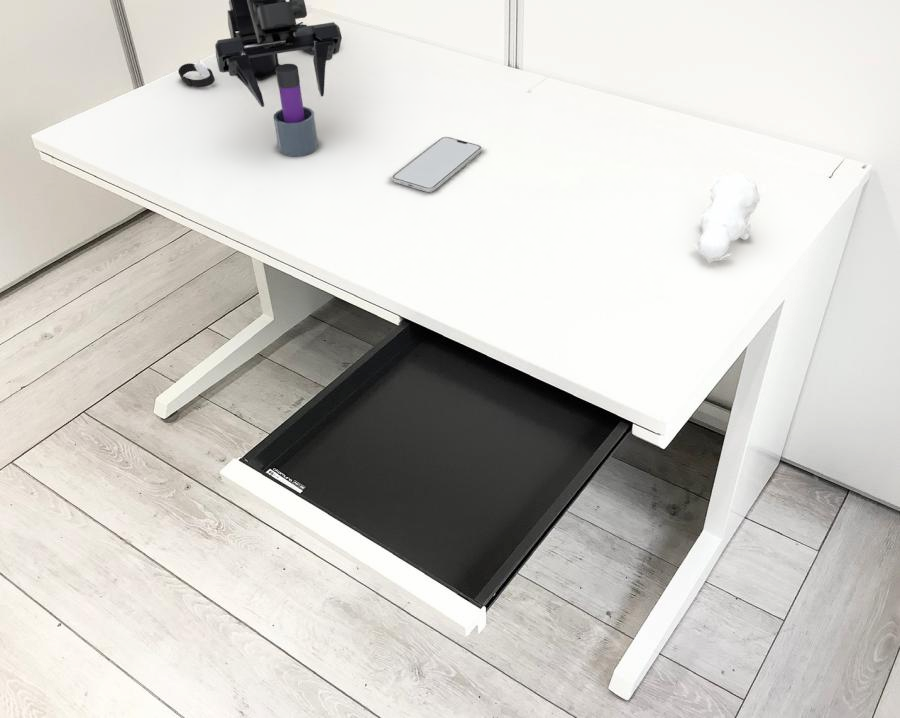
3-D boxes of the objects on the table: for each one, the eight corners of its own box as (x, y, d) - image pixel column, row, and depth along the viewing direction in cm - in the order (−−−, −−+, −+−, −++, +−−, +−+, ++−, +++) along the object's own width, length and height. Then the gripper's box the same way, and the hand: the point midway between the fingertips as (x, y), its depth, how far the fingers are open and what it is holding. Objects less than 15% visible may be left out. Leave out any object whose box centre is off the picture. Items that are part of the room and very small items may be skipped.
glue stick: (293, 138, 143) (282, 62, 134) (312, 141, 142) (301, 64, 134) (284, 147, 140) (271, 71, 132) (302, 150, 139) (291, 73, 131)
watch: (222, 82, 161) (218, 63, 159) (202, 92, 158) (198, 72, 156) (193, 73, 164) (189, 54, 162) (173, 82, 162) (169, 62, 159)
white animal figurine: (767, 172, 114) (741, 225, 107) (756, 225, 120) (730, 279, 113) (718, 161, 116) (689, 212, 109) (709, 214, 122) (681, 266, 115)
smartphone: (389, 177, 132) (443, 135, 141) (389, 181, 132) (443, 139, 142) (431, 190, 129) (483, 146, 138) (431, 194, 129) (484, 150, 139)
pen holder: (298, 134, 145) (294, 102, 141) (326, 144, 142) (322, 112, 138) (270, 149, 141) (265, 117, 137) (298, 160, 138) (293, 127, 134)
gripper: (202, -16, 125) (230, 90, 125) (331, -34, 130) (358, 68, 129) (206, 22, 136) (231, 119, 136) (325, 4, 141) (350, 98, 140)
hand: (292, 100), depth 135 cm, fingers open, 9 cm apart
